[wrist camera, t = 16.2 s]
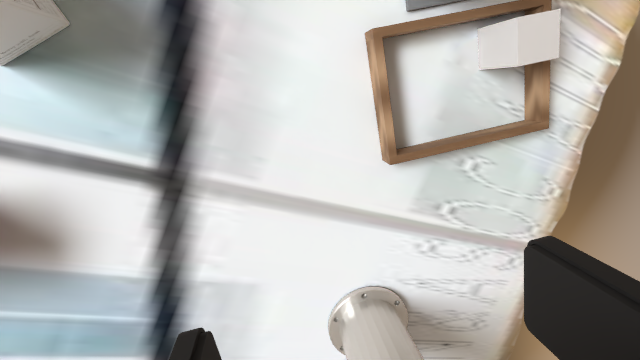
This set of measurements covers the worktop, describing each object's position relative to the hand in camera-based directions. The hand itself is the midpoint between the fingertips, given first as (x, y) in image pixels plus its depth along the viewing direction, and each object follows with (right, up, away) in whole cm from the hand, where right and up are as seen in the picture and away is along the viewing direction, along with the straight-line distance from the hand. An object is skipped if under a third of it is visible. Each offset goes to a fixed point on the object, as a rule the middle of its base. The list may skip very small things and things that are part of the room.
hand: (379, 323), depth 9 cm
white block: (+21, +21, +32) cm, 44 cm away
